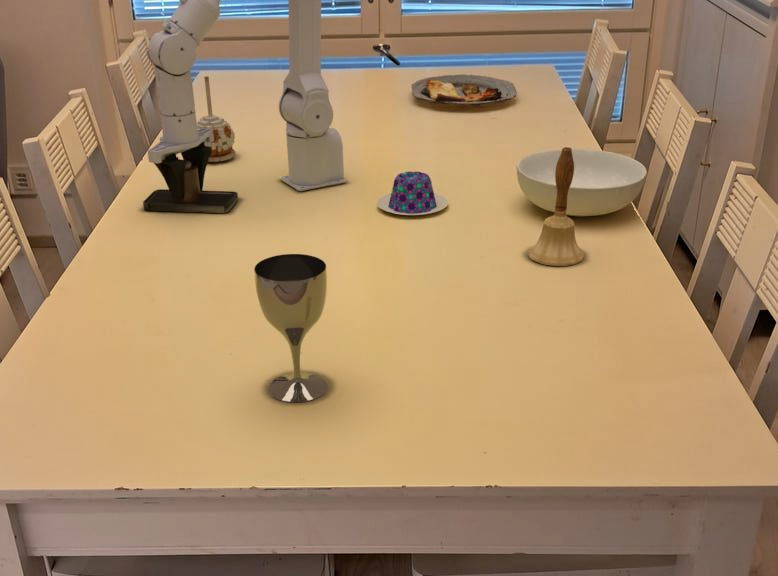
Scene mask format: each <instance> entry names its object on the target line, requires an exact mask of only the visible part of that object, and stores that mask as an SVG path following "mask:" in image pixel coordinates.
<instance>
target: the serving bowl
mask: <svg viewBox="0 0 778 576" xmlns="http://www.w3.org/2000/svg"><path fill="white" fill-rule="evenodd" d="M562 149H563V148H557V149H556V148H555V149H547V150H541V151H537V152H533V153H530V154H528V155H526V156H523V157H522V158H520V159H519V161H518V162H517V164H516V177H517V182H518V185H519V188H520V190H521V192H522V193H523V194H524V196H525V197H526V199H528V200H529V201H530V203H532V204H534V205H535V206H537V207H539V208H541V209H544V210H545V211H548V212H552V213H554V211H555V206H556V198H557V187H556V181H555V172H556V165H557V162H558V159H559V157H560V155H561V152H562ZM571 149H572V156H573V161H574V174H573V179H572V183H571V185H570V188H569V190H568V196H567V210H566V216H567V217H577V218H578V217H579V218H580V217H581V218H582V217H593V216H602V215H607V214H611V213H614V212H618V211H619V210H622V209H624V208H626V207H627V206H628V205H630V204H631V203H632V202H633V201H634V200H635V199H636V198H637V197H638V196H639V194H640V193H641V191H642V189H643V187H644V185H645V182H646V178H647V175H648V171H647V168H646V167H645V165H644V164H642V163H641V162H640V161H638V160H636V159H634V158H632V157H630V156H627V155H624V154H621V153H617V152H611V151H606V150H600V149H591V148H571Z"/></svg>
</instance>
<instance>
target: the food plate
mask: <svg viewBox="0 0 778 576" xmlns="http://www.w3.org/2000/svg"><path fill="white" fill-rule="evenodd" d="M411 93H412V96H413V97H414V98H416V99H417V100H421V101H426V102H429V103H434V104H442V105H460V106H467V107H470V106H471V107H472V106H473V107H479V106H481V105H487V104H493V103H503V102H506V101H510V100H512V99H513V98H516V97H517V95H518V92H517V90H516V87H515V85H514V82H512V81H509V80H505V79H500V78H496V77H492V76H485V75H476V74H467V73H466V74H465V73H464V74H445V75H437V76H429V77H426V78H425V77H424V78H421V79H419V80H416V81H415V82H413V83H411Z"/></svg>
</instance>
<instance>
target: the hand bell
mask: <svg viewBox="0 0 778 576" xmlns="http://www.w3.org/2000/svg"><path fill="white" fill-rule="evenodd" d="M561 149H562V152H561V155H560V157H559V159H558V162H557V165H556V172H555V181H556V187H557V198H556V206H555V211H554V212H553V215H551V216H548V217H547V218H545V219H544V221H543V226H542V228H541V232H540V235H539V237H538V240H537V241H536V243H534V244H533V245H532V246H531V247H530V248H529V250H528V251H527V256H528V258H529V259H530V260H531V261H533V262H536V263H538V264H541V265H546V266H552V267H565V266H566V267H568V266H573V265H577V264H579V263H580V262H582V261H583V260H584V258H585V254H584V252H583V250H582V249H581V248H580V247H579V245H578V243H577V240H576V233H575V221H574V220H573V219H572V218H570V217H569V216H568V215H566V210H567V196H568V190H569V188H570V185H571V183H572V179H573V174H574V161H573V156H572V149H573V148H572V147H568V146H566V147H565V146H564V147H562V148H561Z"/></svg>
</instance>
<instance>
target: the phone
mask: <svg viewBox="0 0 778 576" xmlns="http://www.w3.org/2000/svg"><path fill="white" fill-rule="evenodd" d="M238 193H239V192H237V191H230V190H229V191H227V190H226V191H225V190H222V191H221V190H202V191H201V192H200V194H201V200H200V201H198V202H195V203H188V204H183V203H178V202H176V201H175V199H172V196H171V194H170V191H169V189H166V188H165V189H161V188H159V189H155V190H153V191H152V192H151V193H150V194H149V195H148V196H147V197H146V199H145V200H143V201H142V206H143V210H144V211H148V212H149V211H150V212H153V211H154V212H177V213H179V212H180V213H209V214H226V213H229V212H230V211H231V210H232V208H234V206H235V205H236V203H237V202H238V201H239V194H238Z"/></svg>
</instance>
